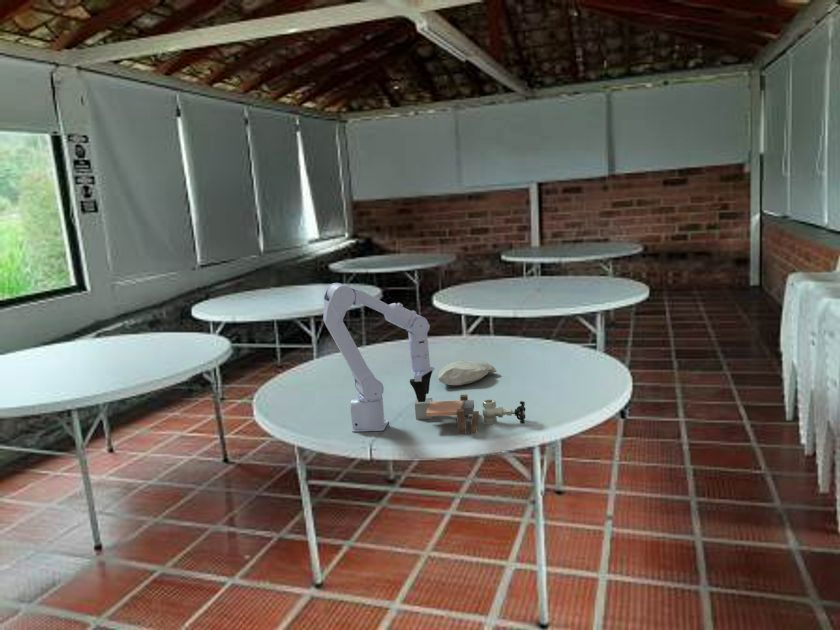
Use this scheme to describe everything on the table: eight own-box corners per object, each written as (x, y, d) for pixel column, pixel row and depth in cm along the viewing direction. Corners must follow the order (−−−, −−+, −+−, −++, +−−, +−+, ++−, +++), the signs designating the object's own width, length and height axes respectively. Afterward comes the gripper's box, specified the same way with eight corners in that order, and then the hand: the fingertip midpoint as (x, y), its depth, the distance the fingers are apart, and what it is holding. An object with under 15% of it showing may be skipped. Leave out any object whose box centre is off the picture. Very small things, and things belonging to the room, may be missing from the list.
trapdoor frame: (458, 433, 183) (456, 411, 182) (462, 415, 198) (460, 394, 197) (476, 433, 183) (474, 410, 181) (478, 414, 197) (477, 394, 196)
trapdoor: (426, 418, 187) (425, 411, 186) (430, 406, 196) (430, 400, 196) (472, 416, 185) (471, 409, 184) (474, 404, 194) (473, 398, 194)
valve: (481, 426, 188) (523, 427, 184) (479, 404, 186) (522, 405, 183) (485, 418, 194) (526, 419, 190) (483, 397, 193) (524, 397, 189)
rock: (500, 359, 239) (464, 367, 219) (501, 378, 239) (465, 389, 219) (456, 357, 250) (418, 365, 230) (457, 376, 251) (418, 385, 230)
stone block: (416, 419, 198) (414, 403, 197) (418, 414, 203) (416, 398, 202) (431, 419, 198) (430, 403, 197) (433, 413, 202) (432, 398, 201)
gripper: (429, 359, 189) (433, 404, 192) (435, 347, 203) (439, 389, 206) (405, 361, 190) (410, 405, 193) (413, 348, 204) (417, 390, 207)
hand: (423, 397), depth 199 cm, fingers open, 7 cm apart
